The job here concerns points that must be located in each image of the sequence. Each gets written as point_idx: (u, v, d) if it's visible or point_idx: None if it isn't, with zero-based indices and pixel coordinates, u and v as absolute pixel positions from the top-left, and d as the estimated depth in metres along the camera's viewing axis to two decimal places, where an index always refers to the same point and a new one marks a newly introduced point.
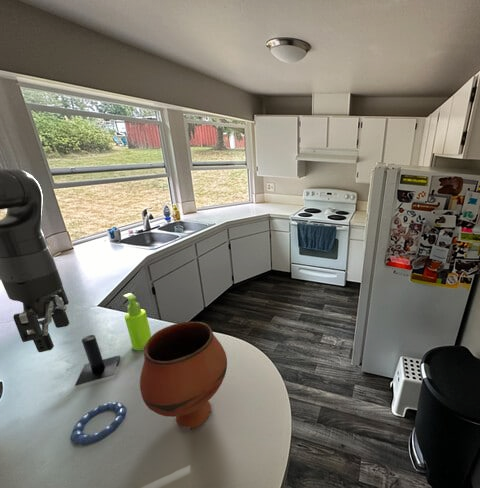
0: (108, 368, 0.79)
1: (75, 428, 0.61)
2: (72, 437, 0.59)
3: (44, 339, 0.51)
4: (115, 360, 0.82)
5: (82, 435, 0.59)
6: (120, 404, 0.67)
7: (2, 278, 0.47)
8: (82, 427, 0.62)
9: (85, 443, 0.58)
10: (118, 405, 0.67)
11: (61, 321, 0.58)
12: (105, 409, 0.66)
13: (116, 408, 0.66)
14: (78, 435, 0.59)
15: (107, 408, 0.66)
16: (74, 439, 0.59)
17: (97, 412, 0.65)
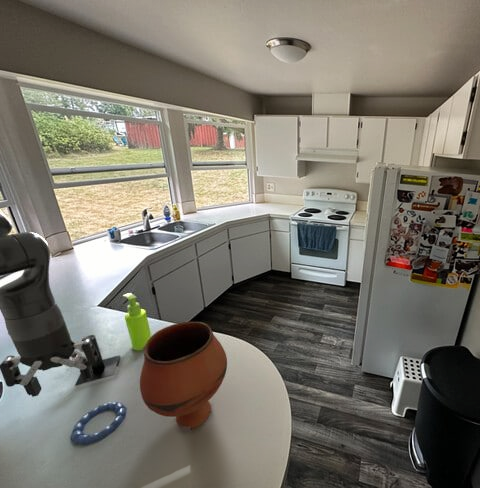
0: (108, 368, 0.79)
1: (75, 428, 0.61)
2: (72, 437, 0.59)
3: (26, 386, 0.54)
4: (115, 360, 0.82)
5: (82, 435, 0.59)
6: (120, 404, 0.67)
7: None
8: (82, 427, 0.62)
9: (85, 443, 0.58)
10: (118, 405, 0.67)
11: None
12: (105, 409, 0.66)
13: (116, 408, 0.66)
14: (78, 435, 0.59)
15: (107, 408, 0.66)
16: (74, 439, 0.59)
17: (97, 412, 0.65)
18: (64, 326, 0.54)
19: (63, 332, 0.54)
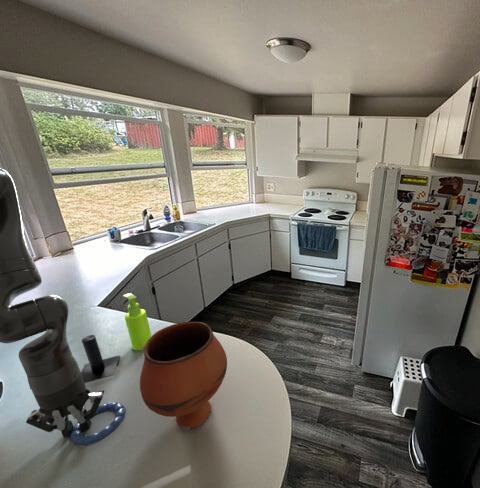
0: (108, 368, 0.79)
1: (74, 428, 0.61)
2: (71, 437, 0.59)
3: (62, 431, 0.59)
4: (115, 360, 0.82)
5: (81, 435, 0.59)
6: (119, 404, 0.67)
7: None
8: None
9: (84, 443, 0.58)
10: (117, 405, 0.67)
11: None
12: (104, 409, 0.66)
13: (115, 408, 0.66)
14: (77, 435, 0.59)
15: (106, 408, 0.66)
16: (73, 439, 0.59)
17: (96, 412, 0.65)
18: (80, 376, 0.58)
19: (79, 383, 0.57)
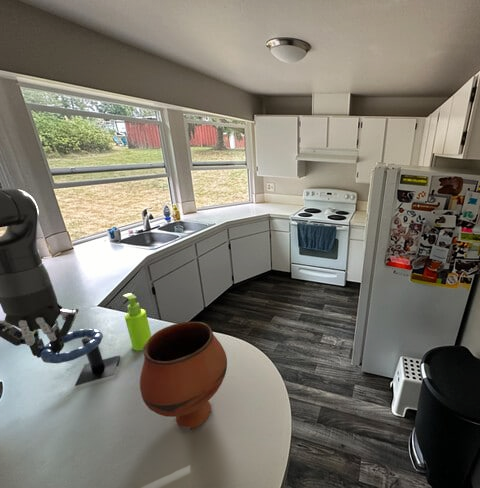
0: (108, 368, 0.79)
1: (45, 347, 0.57)
2: (41, 354, 0.55)
3: (31, 347, 0.55)
4: (115, 360, 0.82)
5: (52, 353, 0.55)
6: (96, 330, 0.63)
7: None
8: None
9: (54, 360, 0.54)
10: (94, 331, 0.62)
11: None
12: (80, 334, 0.62)
13: (92, 333, 0.62)
14: (47, 353, 0.55)
15: (82, 333, 0.62)
16: (43, 356, 0.55)
17: (71, 336, 0.61)
18: (50, 287, 0.54)
19: (49, 293, 0.53)
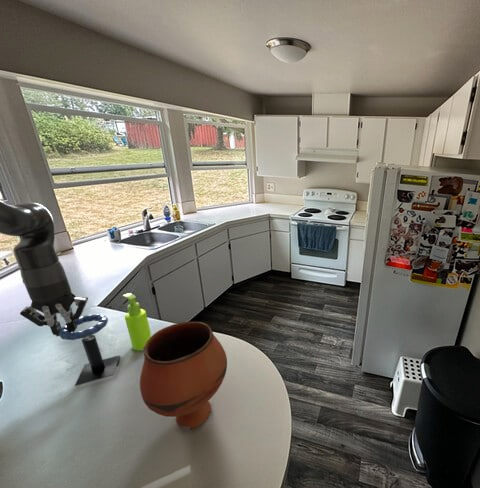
0: (108, 368, 0.79)
1: (62, 328, 0.71)
2: (59, 333, 0.69)
3: (51, 328, 0.69)
4: (115, 360, 0.82)
5: (68, 332, 0.69)
6: (102, 315, 0.77)
7: None
8: None
9: (70, 337, 0.68)
10: (101, 315, 0.77)
11: None
12: (89, 318, 0.76)
13: (99, 317, 0.76)
14: (64, 332, 0.69)
15: (91, 317, 0.76)
16: (61, 334, 0.69)
17: (82, 320, 0.75)
18: (66, 280, 0.68)
19: (65, 284, 0.67)
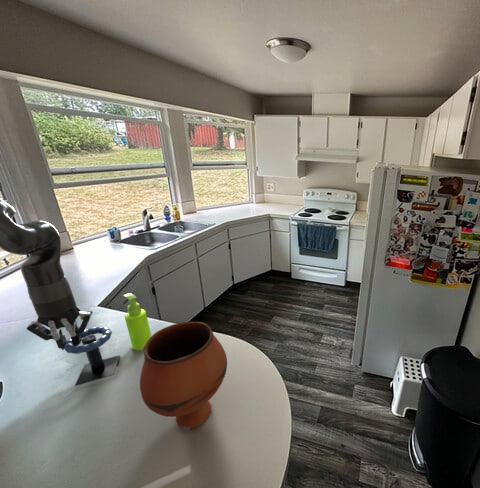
0: (108, 368, 0.79)
1: (67, 341, 0.72)
2: (65, 347, 0.71)
3: (57, 341, 0.71)
4: (115, 360, 0.82)
5: (73, 345, 0.71)
6: (106, 328, 0.79)
7: None
8: None
9: (75, 351, 0.70)
10: (105, 328, 0.78)
11: None
12: (93, 331, 0.78)
13: (103, 330, 0.78)
14: (70, 345, 0.71)
15: (95, 330, 0.78)
16: (66, 348, 0.70)
17: (86, 333, 0.77)
18: (71, 295, 0.69)
19: (70, 299, 0.69)
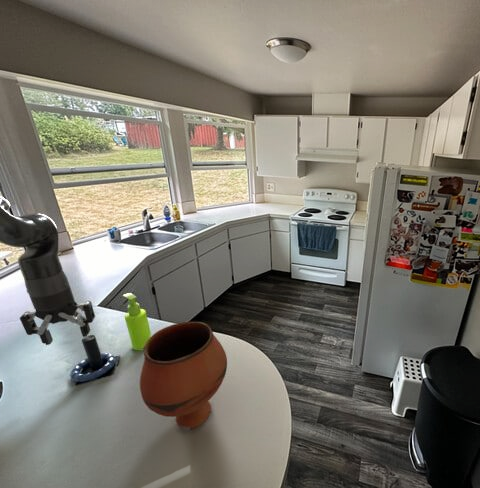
0: None
1: (73, 369, 0.76)
2: (71, 375, 0.74)
3: (41, 336, 0.69)
4: None
5: (78, 374, 0.74)
6: (111, 354, 0.82)
7: None
8: (79, 369, 0.77)
9: (80, 379, 0.73)
10: (109, 355, 0.81)
11: None
12: None
13: (107, 357, 0.81)
14: (75, 373, 0.74)
15: None
16: (72, 376, 0.74)
17: None
18: (69, 289, 0.69)
19: (68, 293, 0.68)
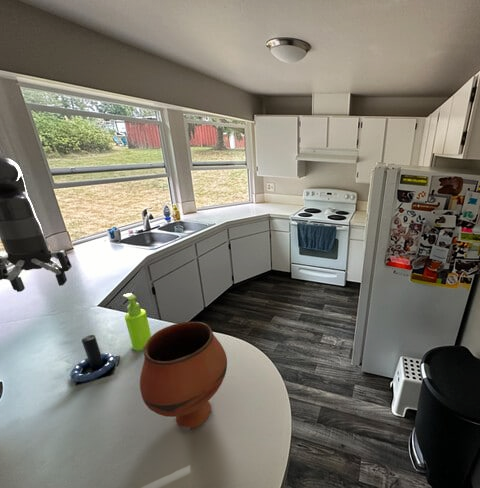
0: None
1: (73, 369, 0.76)
2: (71, 375, 0.74)
3: (12, 282, 0.68)
4: None
5: (78, 374, 0.74)
6: (111, 354, 0.82)
7: None
8: (79, 369, 0.77)
9: (80, 379, 0.73)
10: (109, 355, 0.81)
11: None
12: None
13: (107, 357, 0.81)
14: (75, 373, 0.74)
15: None
16: (72, 376, 0.74)
17: None
18: (42, 236, 0.69)
19: (41, 240, 0.68)
